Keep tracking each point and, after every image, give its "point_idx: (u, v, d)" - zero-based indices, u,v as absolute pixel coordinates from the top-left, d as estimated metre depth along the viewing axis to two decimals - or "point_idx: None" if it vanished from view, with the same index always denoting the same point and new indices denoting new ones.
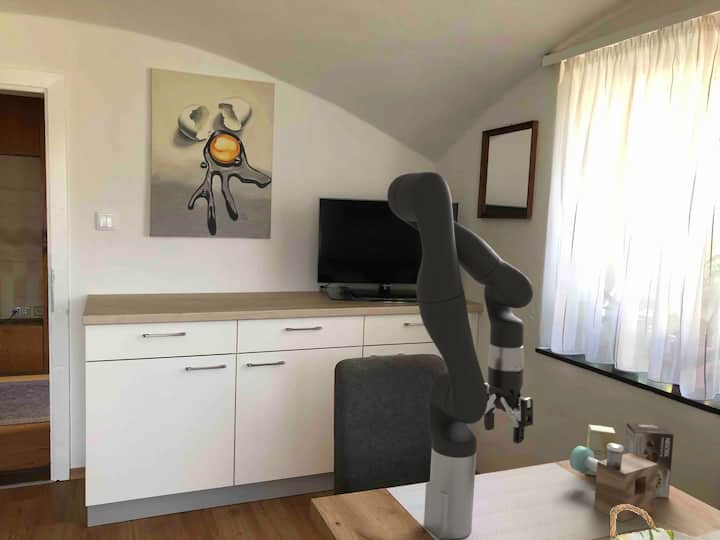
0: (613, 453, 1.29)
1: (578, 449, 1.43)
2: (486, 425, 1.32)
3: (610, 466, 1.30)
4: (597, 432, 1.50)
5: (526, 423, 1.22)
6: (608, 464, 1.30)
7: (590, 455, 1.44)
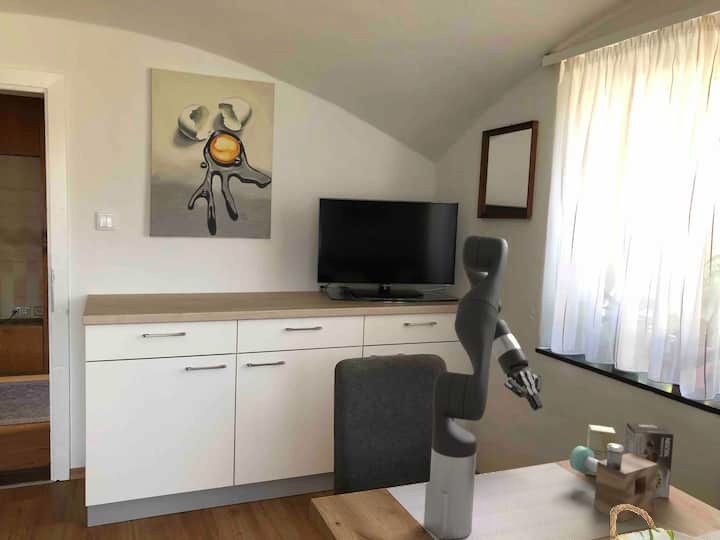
0: (613, 453, 1.29)
1: (578, 449, 1.43)
2: (538, 403, 1.56)
3: (610, 466, 1.30)
4: (597, 432, 1.50)
5: None
6: (608, 464, 1.30)
7: (590, 455, 1.44)
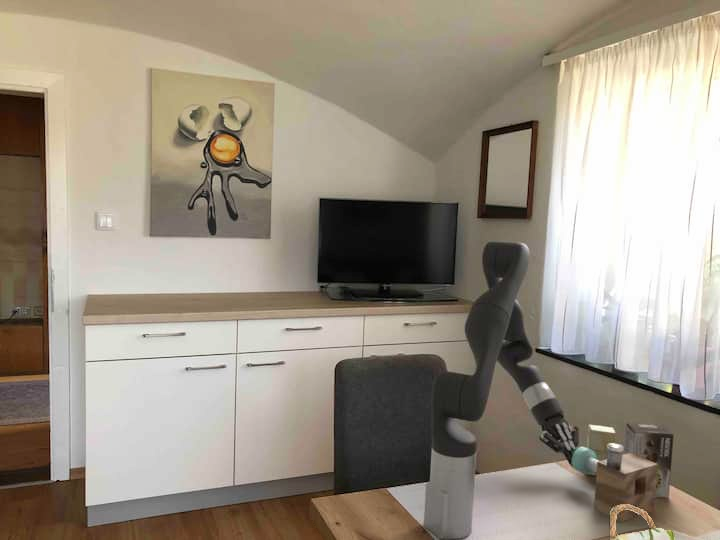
0: (613, 453, 1.29)
1: (580, 450, 1.43)
2: None
3: (610, 466, 1.30)
4: (597, 432, 1.50)
5: None
6: (608, 464, 1.30)
7: (592, 456, 1.43)
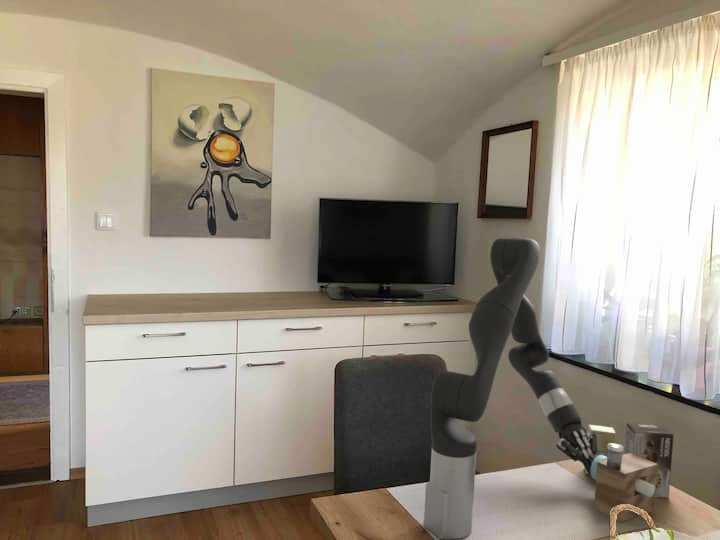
0: (613, 453, 1.29)
1: (599, 458, 1.38)
2: None
3: (610, 466, 1.30)
4: (597, 432, 1.50)
5: None
6: (608, 464, 1.30)
7: None
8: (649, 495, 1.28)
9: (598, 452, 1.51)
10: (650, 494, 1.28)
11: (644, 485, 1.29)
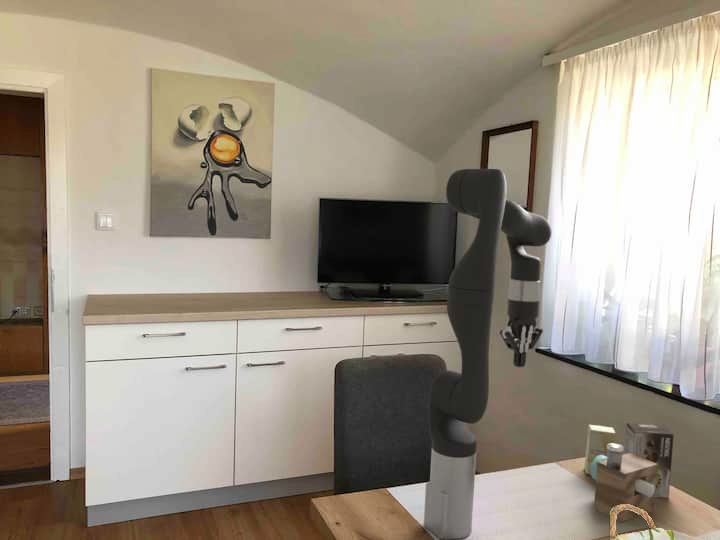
0: (613, 453, 1.29)
1: (599, 458, 1.38)
2: (521, 362, 1.45)
3: (610, 466, 1.30)
4: (597, 432, 1.50)
5: None
6: (608, 464, 1.30)
7: None
8: (649, 495, 1.28)
9: (598, 452, 1.51)
10: (650, 494, 1.28)
11: (644, 485, 1.29)
